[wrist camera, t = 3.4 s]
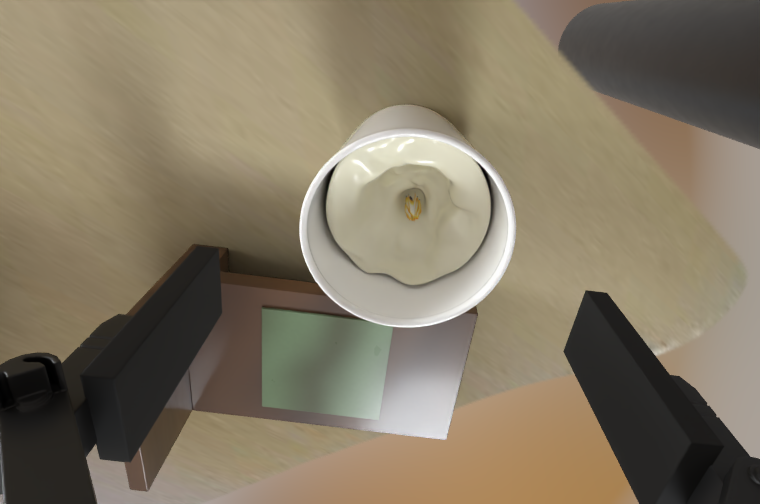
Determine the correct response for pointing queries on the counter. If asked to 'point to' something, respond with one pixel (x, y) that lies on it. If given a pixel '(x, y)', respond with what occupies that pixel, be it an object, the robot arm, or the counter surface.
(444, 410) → the wooden display stand
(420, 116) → the candle holder
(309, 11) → the counter surface
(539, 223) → the counter surface
